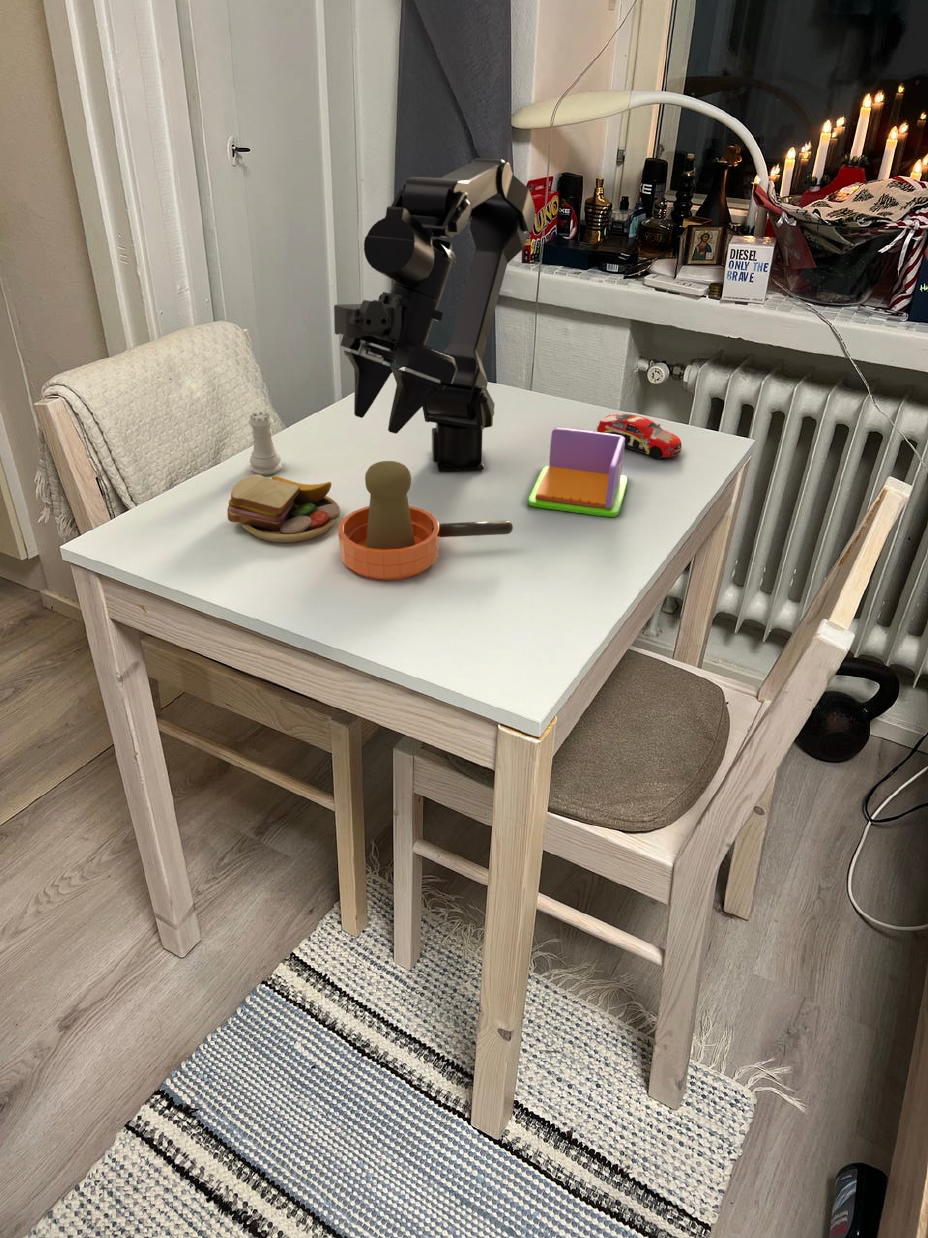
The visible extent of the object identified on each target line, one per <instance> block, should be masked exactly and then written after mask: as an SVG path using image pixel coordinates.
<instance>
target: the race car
mask: <svg viewBox="0 0 928 1238" xmlns="http://www.w3.org/2000/svg"><path fill="white" fill-rule="evenodd" d="M596 432H600V433H608V434H616V435H621V436H623V437H624V438H625V447H624V448H627V449H629V450H633V451H637V452H639V453H643V454H646V455H650V456H651V458H652V459H654V460H660V459H662V458H672V457H675V456H679V454H680V453H681V452H682V440H681V438H680V437H679V436H677V435H676V434H674V433H672V432H670V431H668V430H666V429H664V428H662V427H661V424H660V423H658V424H657V423H656V422H654V421H653V420H651V419H649V418H646V417H644V416H640V415H637V414H630V413H622V414H608V415H606V416H604V417H603V418H601V419H600V421H599V423H598V425H597V427H596Z"/></svg>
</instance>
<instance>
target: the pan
mask: <svg viewBox="0 0 928 1238" xmlns="http://www.w3.org/2000/svg"><path fill="white" fill-rule="evenodd" d="M408 505H409V511H410V517H411V523H412V529H413V535H414V541H415V545H414V546H410V547H405V548H401V549H386V550H382V549H374V548H368V547H366V539H367V528H368V517H369V506H370V505H367V506H363V507H361V508H358V509H356V510H353V511H351V512H350V513H348V514H347V515H345V516H344V517H343V518H342V519H341V521H340V523H339V524H338V542H339V556H340V557H339V558H340V560H341V561H342V563H343V565H345V566H346V567H347V568H349V569H351V570H352V571H353V572H354V573H357V574H358V575H360V576H363V577H366V578H369V579H375V580H384V581H389V580H390V581H392V580H402V579H406V578H411V577H415V576H417V575H419V574H422V573H423V572H425V571H426V570H427V569H429V568H430V567H431V566H432V565H434V563H435V562H436V561H437V559H438V557H439V555H440V537H439V525H438V524H439V520H438V519H437V518H436V516H434V515H433V514H432V513H431V512H429V511H427V510H425V509H423V508H421V507H417V506H413V505H411V504H408ZM433 527H434V530H433V532H432V528H433Z"/></svg>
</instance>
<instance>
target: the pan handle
mask: <svg viewBox="0 0 928 1238" xmlns="http://www.w3.org/2000/svg"><path fill="white" fill-rule="evenodd" d="M438 525H439V538H453V537H477V536H497V535H499V536H500V535H509V534H511V532H513V530H514V526H513V523H512V522H511V521H509V520H489V521H488V520H487V521H468V522H467V521H466V522H446V523H445V522H444V523H441V522H440V523H438ZM433 530H434V527H433V528H432V532H433Z"/></svg>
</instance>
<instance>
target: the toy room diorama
mask: <svg viewBox="0 0 928 1238" xmlns="http://www.w3.org/2000/svg"><path fill="white" fill-rule="evenodd" d="M549 448H550V449H549V465H545V466H543V467H542V469H541V471H540V473H539V474H538V476H537V479H536V480H535V483H534V485H533V487H532V489H531V492H530V494H529V496H528V500H527V503H528V505H529V506H530V507H535V508H540V509H547V510H553V511H554V510H555V511H561V512H562V511H563V512H569V513H577V514H582V515H583V514H584V515H589V516H591V515H592V516H599V517H606V518H614V517H615V518H616V517H617V516H618V515H619V513H620V511H621V507H622V504H623V501H624V497H625V493H626V490H627V485H628V477H627V476H626V475H624V474H622V472H623V471H622V470H623V463H624V454H625V448H626V447H625V438H624V437H623V436H621V435H616V434H608V433H600V432H597V431H591V430H582V429H573V428H566V427H565V428H564V427H555V428H553V429H552V431H551V436H550V447H549Z"/></svg>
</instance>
